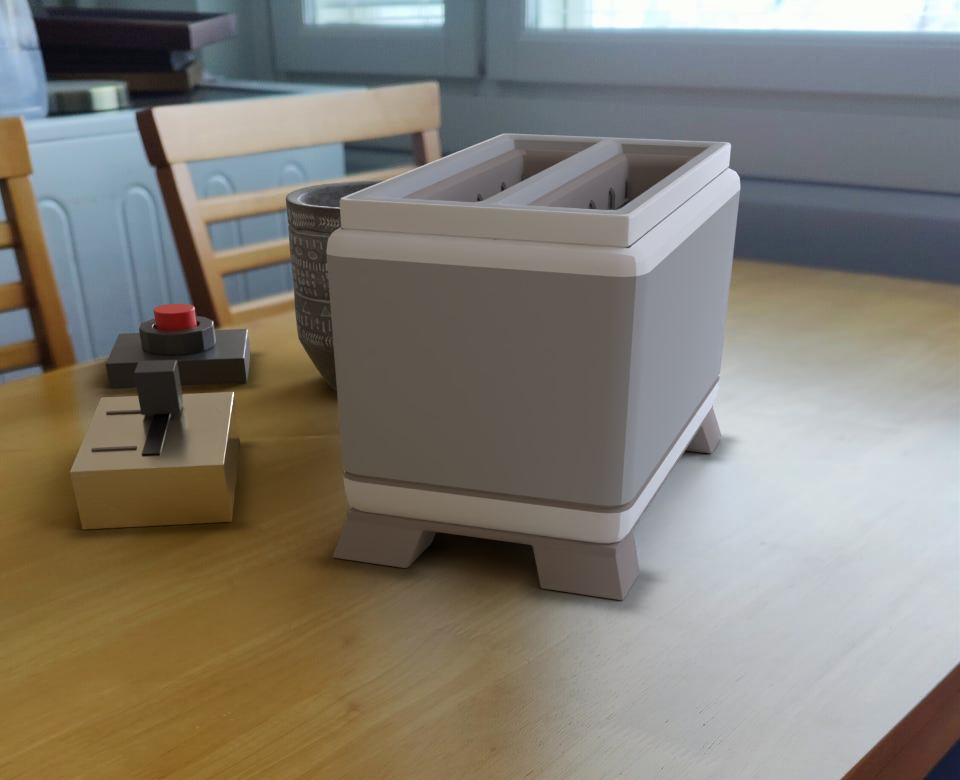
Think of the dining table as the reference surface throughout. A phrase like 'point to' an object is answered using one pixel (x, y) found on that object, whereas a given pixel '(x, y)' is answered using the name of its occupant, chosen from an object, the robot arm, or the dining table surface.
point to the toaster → (530, 346)
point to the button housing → (182, 354)
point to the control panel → (158, 463)
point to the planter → (316, 266)
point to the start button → (175, 317)
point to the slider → (158, 387)
